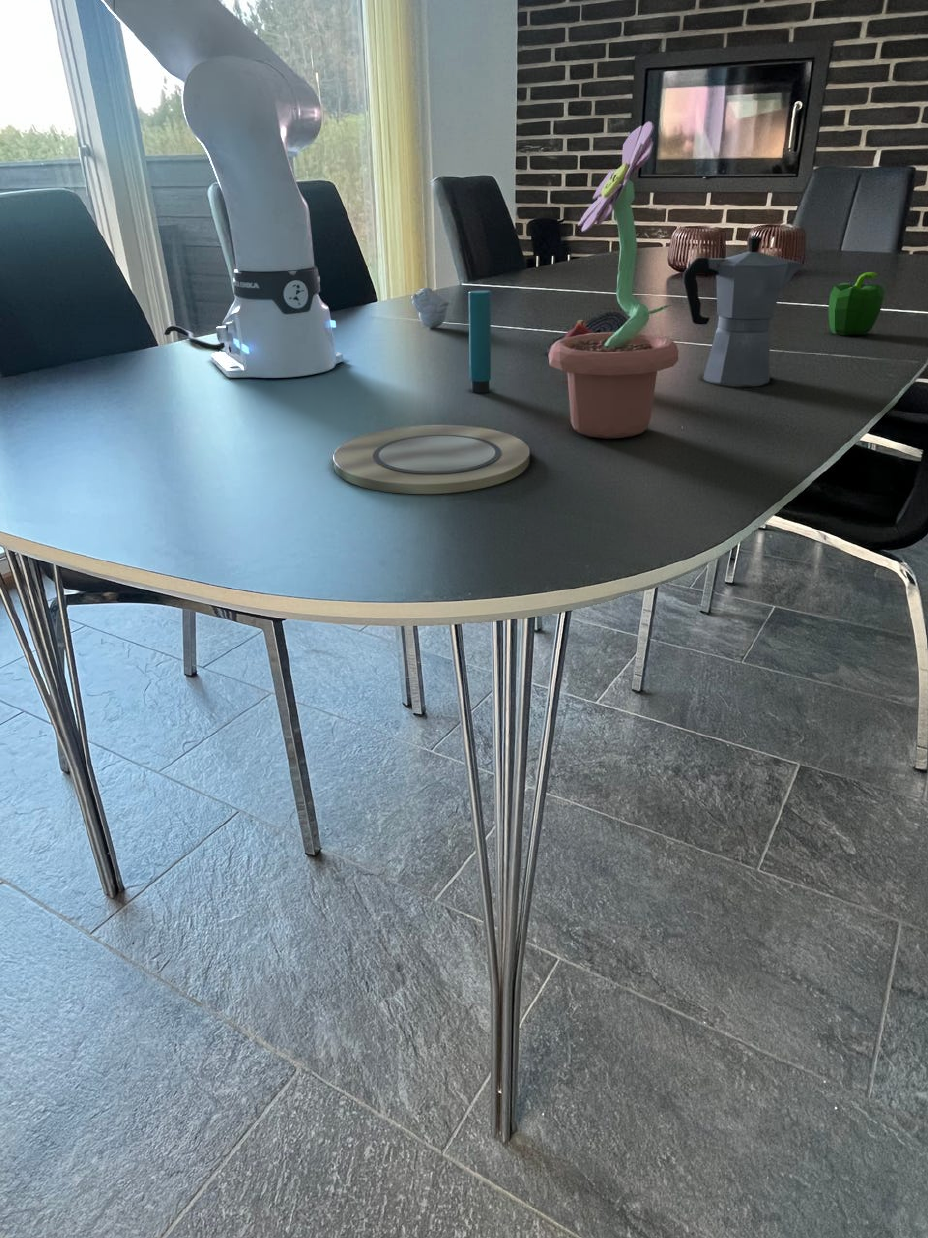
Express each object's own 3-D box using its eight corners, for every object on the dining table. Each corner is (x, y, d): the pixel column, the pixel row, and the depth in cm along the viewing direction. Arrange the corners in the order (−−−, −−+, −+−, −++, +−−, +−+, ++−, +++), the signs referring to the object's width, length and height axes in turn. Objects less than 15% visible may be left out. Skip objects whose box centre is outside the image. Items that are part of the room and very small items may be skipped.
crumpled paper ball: (411, 325, 159) (410, 286, 156) (448, 324, 160) (447, 285, 156) (413, 331, 154) (411, 290, 150) (451, 329, 154) (450, 289, 151)
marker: (465, 390, 112) (464, 291, 106) (482, 387, 114) (481, 289, 108) (478, 394, 110) (477, 293, 104) (495, 391, 112) (495, 291, 106)
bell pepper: (811, 332, 145) (822, 270, 140) (846, 328, 148) (858, 267, 143) (849, 340, 139) (862, 275, 134) (885, 335, 142) (899, 272, 137)
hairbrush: (528, 335, 132) (593, 305, 150) (528, 358, 134) (593, 326, 152) (576, 339, 128) (637, 308, 146) (575, 364, 130) (636, 330, 148)
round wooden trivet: (300, 456, 88) (298, 446, 87) (454, 423, 98) (454, 414, 97) (401, 510, 74) (400, 498, 73) (570, 465, 84) (570, 454, 83)
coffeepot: (771, 370, 119) (792, 232, 111) (796, 386, 111) (822, 237, 102) (664, 373, 119) (677, 235, 110) (681, 389, 111) (697, 240, 102)
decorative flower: (542, 412, 102) (550, 126, 87) (657, 411, 101) (683, 123, 87) (550, 449, 88) (560, 119, 74) (681, 447, 88) (717, 116, 74)
